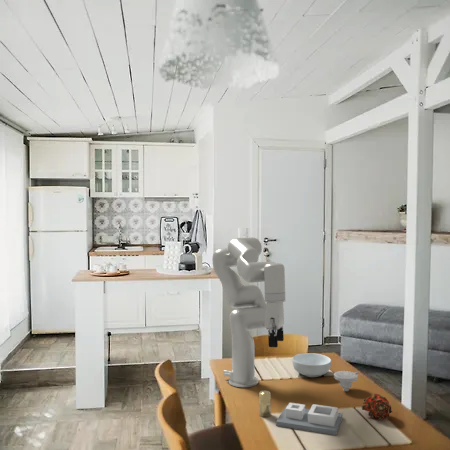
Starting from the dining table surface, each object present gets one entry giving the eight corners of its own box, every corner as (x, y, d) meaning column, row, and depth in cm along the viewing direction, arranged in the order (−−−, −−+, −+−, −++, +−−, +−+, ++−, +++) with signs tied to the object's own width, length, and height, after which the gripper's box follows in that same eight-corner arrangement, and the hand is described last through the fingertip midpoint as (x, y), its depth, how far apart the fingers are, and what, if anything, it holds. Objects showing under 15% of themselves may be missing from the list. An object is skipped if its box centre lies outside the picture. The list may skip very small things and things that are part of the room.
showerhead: (362, 375, 188) (338, 376, 187) (363, 393, 188) (338, 395, 187) (354, 368, 197) (330, 368, 196) (354, 385, 197) (330, 386, 196)
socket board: (276, 425, 161) (276, 412, 160) (286, 409, 174) (286, 397, 174) (336, 435, 153) (336, 421, 153) (342, 417, 166) (342, 404, 166)
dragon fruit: (387, 429, 160) (365, 420, 171) (402, 411, 163) (380, 403, 174) (373, 411, 159) (352, 403, 170) (388, 392, 162) (366, 386, 173)
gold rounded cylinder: (258, 416, 168) (257, 393, 168) (261, 411, 172) (261, 390, 172) (268, 418, 167) (268, 395, 167) (272, 413, 170) (271, 391, 170)
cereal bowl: (285, 376, 209) (285, 360, 209) (302, 366, 223) (302, 351, 223) (321, 383, 200) (321, 367, 200) (336, 372, 213) (336, 356, 213)
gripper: (270, 293, 184) (271, 338, 184) (258, 300, 168) (260, 349, 168) (289, 294, 182) (291, 339, 181) (279, 300, 165) (281, 350, 165)
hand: (276, 343), depth 175 cm, fingers open, 9 cm apart
